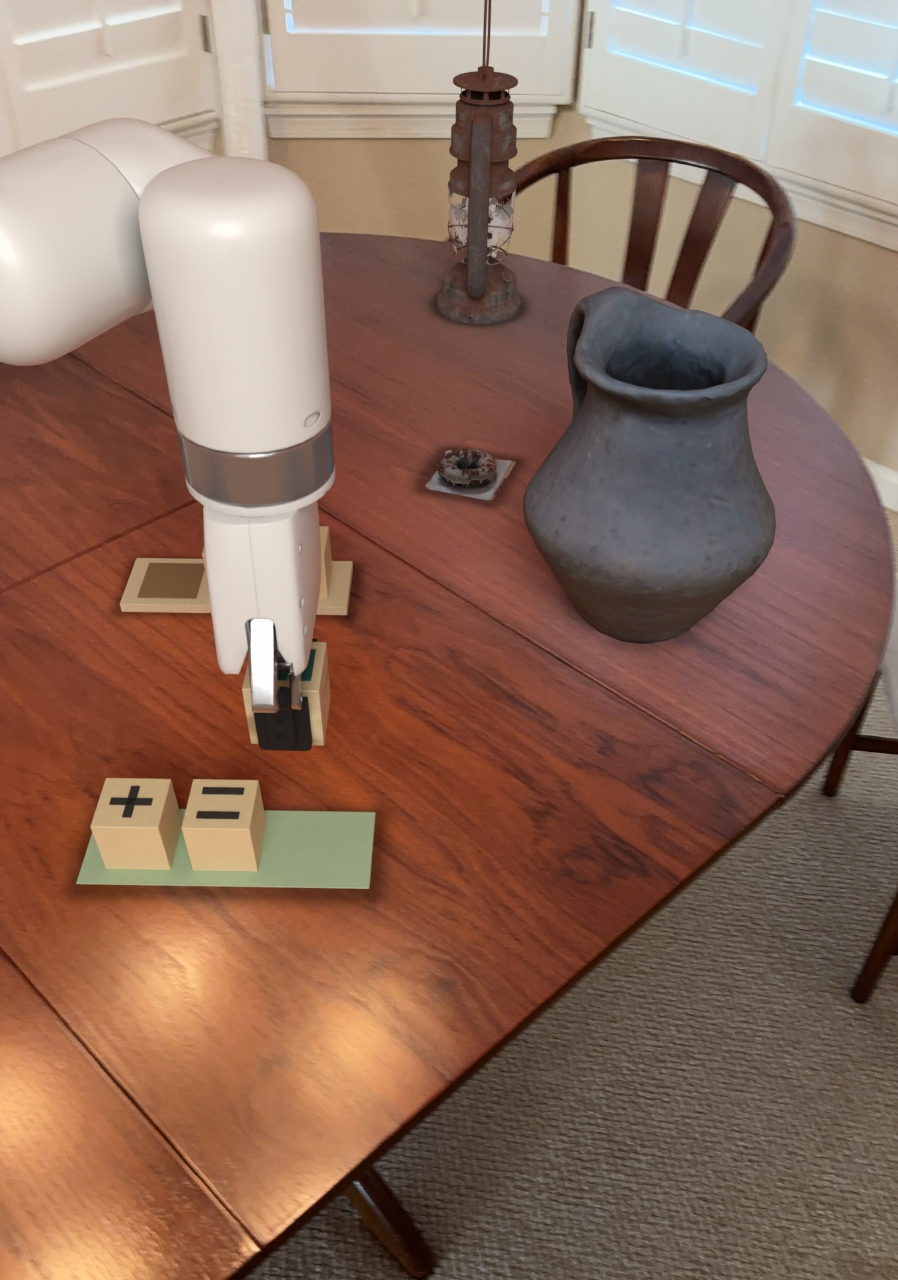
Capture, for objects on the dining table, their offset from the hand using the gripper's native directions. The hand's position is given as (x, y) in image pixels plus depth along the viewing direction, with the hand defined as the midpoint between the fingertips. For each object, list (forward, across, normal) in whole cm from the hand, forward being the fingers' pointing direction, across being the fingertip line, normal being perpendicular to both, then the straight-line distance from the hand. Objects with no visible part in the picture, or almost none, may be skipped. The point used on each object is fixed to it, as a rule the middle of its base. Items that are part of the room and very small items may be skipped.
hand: (291, 715), depth 66 cm
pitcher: (+13, -29, +26) cm, 41 cm away
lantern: (+14, -92, +12) cm, 94 cm away
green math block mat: (+13, +1, -5) cm, 14 cm away
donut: (+13, -50, +12) cm, 53 cm away
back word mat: (+13, -30, -9) cm, 34 cm away
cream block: (0, 0, 0) cm, 0 cm away
